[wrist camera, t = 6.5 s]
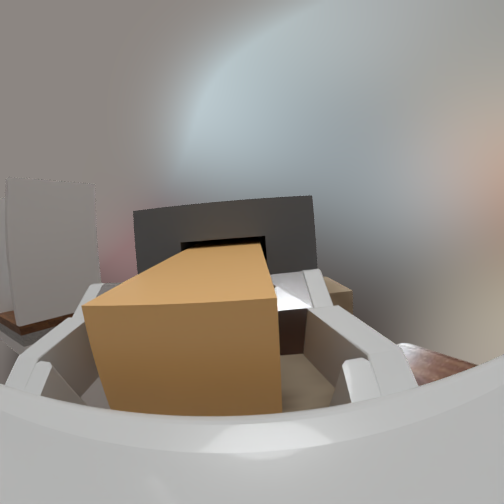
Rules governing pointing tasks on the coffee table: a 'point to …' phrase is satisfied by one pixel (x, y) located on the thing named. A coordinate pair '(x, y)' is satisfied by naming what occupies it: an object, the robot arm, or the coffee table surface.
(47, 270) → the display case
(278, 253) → the block
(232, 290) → the tan rectangular block
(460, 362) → the coffee table surface
